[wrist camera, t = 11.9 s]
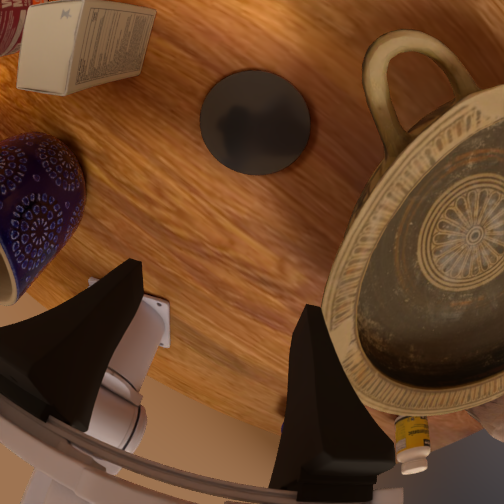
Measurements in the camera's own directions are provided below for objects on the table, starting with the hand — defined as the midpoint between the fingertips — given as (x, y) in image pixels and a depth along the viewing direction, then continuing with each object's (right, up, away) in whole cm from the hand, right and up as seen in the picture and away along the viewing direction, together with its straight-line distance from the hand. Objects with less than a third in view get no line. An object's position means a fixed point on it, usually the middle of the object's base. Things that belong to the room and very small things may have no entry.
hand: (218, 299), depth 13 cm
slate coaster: (+2, +10, +5) cm, 12 cm away
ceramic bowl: (+18, +5, +6) cm, 19 cm away
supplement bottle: (+26, -24, +25) cm, 44 cm away
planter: (-16, +9, +10) cm, 21 cm away
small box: (-7, +16, +3) cm, 18 cm away
